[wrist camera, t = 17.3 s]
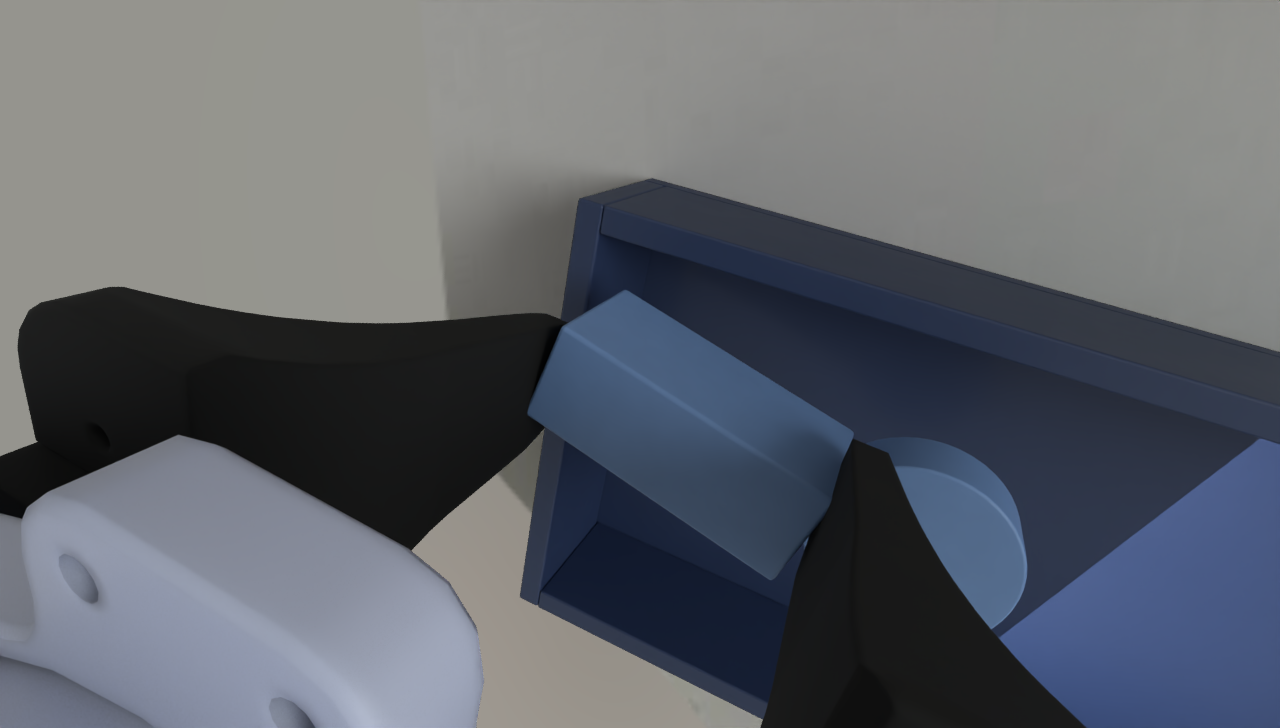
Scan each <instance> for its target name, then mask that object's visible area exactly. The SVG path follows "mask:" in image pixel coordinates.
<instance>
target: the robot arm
mask: <svg viewBox="0 0 1280 728" xmlns="http://www.w3.org/2000/svg"><path fill="white" fill-rule="evenodd" d="M567 323H568V322H565V321H563V320H560V319H558V318H556V317H553V316H551V315H548V314H542V313H525V314H511V315H499V316H489V317H479V318H468V319H458V320H444V321H429V322H413V323H382V324H381V323H379V324H378V323H377V324H375V323H341V322H340V323H339V322H327V321H316V320H304V319H292V318H281V317H273V316H266V315H259V314H252V313H245V312H239V311H233V310H227V309H221V308H216V307H210V306H205V305H200V304H195V303H191V302H186V301H182V300H177V299H173V298H168V297H163V296H159V295H155V294H150V293H146V292H142V291H138V290H134V289H129V288H125V287H108V288H103V289H99V290H95V291H90V292H86V293H81V294H77V295H72V296H68V297H64V298H59V299H55V300H50V301H46V302H41V303H39V304H38V305H37V306H35V307H33V308H32V309H30V310H29V311H28V313H27V315H26V317H25V319H24V321H23V323H22V325H21V327H20V329H19V338H18V355H19V363H20V369H21V374H22V379H23V383H24V388H25V392H26V397H27V401H28V406H29V411H30V415H31V420H32V424H33V429H34V434H35V438H36V440H37V441H38V442H36V443H34V444H31V445H29V446H26V447H23V448H21V449H18V450H15V451H13V452H10V453H8V454H5V455H2V456H0V728H476V721H477V716H478V711H479V705H480V700H481V694H482V689H483V684H484V677H483V669H482V662H481V655H480V646H479V638H478V632H477V629H476V625H475V624H474V622H473V620H472V619H471V617H470V615H469V614H468V612H467V611H466V609H465V607H464V606H463V604H462V602H461V601H460V599H459V597H458V596H457V594H456V593H455V591H454V589H453V588H452V586H451V584H450V583H449V582H448V581H447V580H446V579H445V578H444V577H442V576H441V575H440V574H439V573H438V572H436V571H435V570H434V569H433V568H431V567H430V566H429V565H428V564H427V563H425V562H424V561H423V560H422V559H420V558H419V557H418V556H416V555H415V554H414V553H413V552H412V551H411V550H412V549H413V548H414V547H415V546H416V545H417V544H418V543H419V542H420V541H421V540H422V539H423V538H424V536H426V535H427V533H428V532H429V531H430V530H431V529H433V527H435V526H436V525H437V524H438V523H439V522H440V521H441V520H442V519H443V518H444V517H446V516H447V515H448V514H449V513H450V512H451V511H453V510H454V509H455V508H456V507H457V506H459V505H460V504H461V503H462V502H463V501H465V500H466V499H467V498H468V497H469V496H471V495H472V494H473V493H474V492H475V491H477V490H478V489H479V488H480V487H481V486H483V485H484V484H485V483H486V482H487V481H489V480H490V479H491V478H492V477H493V476H495V475H496V474H497V473H498V472H499V471H501V470H502V469H503V468H504V467H505V466H506V465H508V464H509V463H510V462H511V461H512V460H513V459H515V458H516V457H517V456H518V455H519V454H520V453H522V452H523V451H524V450H525V449H526V448H527V447H528V446H529V445H530V444H531V443H532V441H533V440H534V439H535V438H536V437H537V436H538V435H539V434H540V432H541V431H542V430H543V429H544V428H545V427H544V426H543V425H542V424H540V423H539V422H537V421H536V420H534V419H533V418H531V417H530V416H528V408H529V404H530V400H531V398H532V396H533V393H534V391H535V388H536V386H537V384H538V381H539V379H540V377H541V374H542V372H543V370H544V367H545V365H546V363H547V360H548V358H549V356H550V353H551V351H552V349H553V346H554V344H555V342H556V339H557V337H558V335H559V332H560V330H561V328H562V327H563V326H564V325H565V324H567ZM761 728H1087V727H1086V726H1085V725H1083V724H1082V723H1081V722H1080V721H1079V720H1078V719H1077V718H1076V717H1075V716H1074V715H1073V714H1072V713H1071V712H1070V711H1069V710H1068V709H1067V708H1066V707H1064V706H1063V705H1062V704H1061V703H1060V702H1059V701H1058V700H1057V699H1056V698H1055V697H1054V696H1053V695H1052V694H1051V693H1050V692H1049V691H1048V690H1047V689H1046V688H1045V687H1044V686H1043V685H1042V684H1041V683H1040V682H1039V681H1038V680H1037V679H1036V678H1035V677H1034V676H1033V675H1032V674H1031V673H1030V672H1029V671H1028V670H1027V669H1026V668H1025V667H1024V666H1023V665H1022V664H1021V663H1020V662H1019V660H1018V659H1017V658H1016V657H1015V656H1014V655H1013V654H1012V653H1011V651H1010V650H1009V649H1008V648H1007V647H1006V646H1005V645H1004V643H1003V642H1002V641H1001V640H1000V639H999V638H998V637H997V636H996V634H995V633H994V632H993V631H992V630H991V629H990V627H989V626H988V625H987V624H986V623H985V621H984V620H983V619H982V618H981V616H980V615H979V614H978V613H977V611H976V610H975V609H974V607H973V606H972V605H971V603H970V602H969V601H968V599H967V598H966V597H965V595H964V594H963V592H962V591H961V590H960V588H959V587H958V586H957V584H956V583H955V581H954V580H953V579H952V577H951V576H950V574H949V573H948V571H947V570H946V568H945V566H944V565H943V563H942V562H941V560H940V558H939V557H938V555H937V553H936V552H935V550H934V548H933V546H932V545H931V543H930V541H929V540H928V538H927V536H926V534H925V532H924V531H923V529H922V527H921V525H920V523H919V521H918V519H917V517H916V515H915V513H914V511H913V509H912V507H911V505H910V503H909V500H908V498H907V496H906V493H905V491H904V489H903V486H902V484H901V482H900V479H899V477H898V474H897V472H896V469H895V467H894V465H893V462H892V460H891V458H890V455H889V453H887V452H885V451H883V450H880V449H878V448H875V447H873V446H870V445H868V444H865V443H863V442H860V441H858V440H855V439H852V441H851V443H850V445H849V448H848V450H847V452H846V454H845V456H844V459H843V461H842V463H841V466H840V470H839V473H838V477H837V480H836V484H835V487H834V491H833V495H832V500H831V503H830V505H829V508H828V510H827V512H826V514H825V516H824V517H823V519H822V521H821V522H820V523H819V525H818V526H817V527H816V528H815V529H814V531H813V532H812V533H811V534H810V536H809V538H808V541H807V544H806V547H805V550H804V552H803V555H802V558H801V561H800V564H799V567H798V570H797V573H796V575H795V580H794V585H793V589H792V594H791V599H790V603H789V608H788V613H787V618H786V623H785V628H784V632H783V637H782V642H781V647H780V652H779V657H778V662H777V666H776V671H775V676H774V681H773V686H772V689H771V693H770V697H769V701H768V705H767V709H766V712H765V715H764V718H763V721H762V725H761Z"/></svg>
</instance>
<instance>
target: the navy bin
mask: <svg viewBox="0 0 1280 728" xmlns="http://www.w3.org/2000/svg"><path fill="white" fill-rule="evenodd" d="M623 290H627V291H629V292H631V293H632V294H634V295H636V296H637V297H639V298H640V299H642V300H644V301H645V302H647V303H648V304H650V305H652V306H653V307H655V308H656V309H658V310H660V311H661V312H663V313H664V314H666V315H668V316H669V317H671V318H672V319H674V320H676V321H677V322H679V323H680V324H682V325H684V326H685V327H687V328H688V329H690V330H692V331H693V332H695V333H696V334H698V335H700V336H701V337H703V338H704V339H706V340H708V341H709V342H711V343H713V344H714V345H716V346H717V347H719V348H721V349H722V350H724V351H725V352H727V353H729V354H730V355H732V356H733V357H735V358H737V359H738V360H740V361H741V362H743V363H745V364H746V365H748V366H749V367H751V368H753V369H754V370H756V371H757V372H759V373H761V374H762V375H764V376H765V377H767V378H769V379H770V380H772V381H773V382H775V383H777V384H778V385H780V386H781V387H783V388H785V389H786V390H788V391H789V392H791V393H793V394H794V395H796V396H797V397H799V398H801V399H802V400H804V401H805V402H807V403H809V404H810V405H812V406H813V407H815V408H817V409H818V410H820V411H821V412H823V413H825V414H826V415H828V416H829V417H831V418H833V419H834V420H836V421H837V422H839V423H841V424H842V425H844V426H845V427H847V428H849V429H850V430H852V431H853V433H854V435H853V439H855V440H858V441H860V442H863V443H869V442H872V441H875V440H880V439H886V438H893V437H916V438H923V439H930V440H934V441H938V442H941V443H945V444H948V445H950V446H953V447H955V448H958V449H960V450H962V451H964V452H966V453H968V454H969V455H971V456H973V457H975V458H976V459H977V460H979V461H980V462H982V463H983V464H985V465H986V466H987V467H988V468H989V469H990V470H991V471H992V472H994V473H995V474H996V475H997V477H998V478H999V479H1000V480H1001V481H1002V482H1003V484H1004V485H1005V486H1006V488H1007V489H1008V491H1009V493H1010V494H1011V496H1012V498H1013V500H1014V502H1015V504H1016V507H1017V510H1018V514H1019V517H1020V522H1021V528H1022V534H1023V540H1024V545H1025V551H1026V558H1027V579H1026V583H1025V587H1024V591H1023V593H1022V595H1021V597H1020V599H1019V601H1018V603H1017V604H1016V606H1015V607H1014V609H1013V610H1012V611H1011V613H1010V614H1009V615H1008V616H1007V617H1006V618H1005V619H1004V620H1003V621H1002V622H1000V623H999V624H998V625H996V626H995V627H994V628H992V629H991V630H992V631H993V632H994V633H995V634H996V636H997V637H998V638H999V639H1000V640H1001V641H1002V642H1003V643H1004V645H1005V646H1006V647H1007V648H1008V649H1009V650H1010V651H1011V653H1012V654H1013V655H1014V656H1015V657H1016V658H1017V659H1018V660H1019V662H1020V663H1021V664H1022V665H1023V666H1024V667H1025V668H1026V669H1027V670H1028V671H1029V672H1030V673H1031V674H1032V675H1033V676H1034V677H1035V678H1036V679H1037V680H1038V681H1039V682H1040V683H1041V684H1042V685H1043V686H1044V687H1045V688H1046V689H1047V690H1048V691H1049V692H1050V693H1051V694H1052V695H1053V696H1054V697H1055V698H1056V699H1057V700H1058V701H1059V702H1060V703H1061V704H1062V705H1063V706H1064V707H1066V708H1067V709H1068V710H1069V711H1070V712H1071V713H1072V714H1073V715H1074V716H1075V717H1076V718H1077V719H1078V720H1079V721H1080V722H1081V723H1082V724H1083V725H1085V726H1086V727H1087V728H1280V352H1277V351H1274V350H1270V349H1266V348H1263V347H1259V346H1256V345H1252V344H1248V343H1245V342H1241V341H1237V340H1234V339H1230V338H1227V337H1223V336H1219V335H1216V334H1212V333H1209V332H1205V331H1201V330H1198V329H1194V328H1191V327H1187V326H1183V325H1180V324H1176V323H1173V322H1169V321H1165V320H1162V319H1158V318H1154V317H1151V316H1147V315H1144V314H1140V313H1136V312H1133V311H1129V310H1126V309H1122V308H1118V307H1115V306H1111V305H1108V304H1104V303H1100V302H1097V301H1093V300H1090V299H1086V298H1082V297H1079V296H1075V295H1071V294H1068V293H1064V292H1061V291H1057V290H1053V289H1050V288H1046V287H1043V286H1039V285H1035V284H1032V283H1028V282H1025V281H1021V280H1017V279H1014V278H1010V277H1007V276H1003V275H999V274H996V273H992V272H988V271H985V270H981V269H978V268H974V267H970V266H967V265H963V264H960V263H956V262H952V261H949V260H945V259H942V258H938V257H934V256H931V255H927V254H924V253H920V252H916V251H913V250H909V249H905V248H902V247H898V246H895V245H891V244H887V243H884V242H880V241H877V240H873V239H869V238H866V237H862V236H859V235H855V234H851V233H848V232H844V231H841V230H837V229H833V228H830V227H826V226H822V225H819V224H815V223H812V222H808V221H804V220H801V219H797V218H794V217H790V216H786V215H783V214H779V213H776V212H772V211H768V210H765V209H761V208H758V207H754V206H750V205H747V204H743V203H739V202H736V201H732V200H729V199H725V198H721V197H718V196H714V195H711V194H707V193H703V192H700V191H696V190H693V189H689V188H685V187H682V186H678V185H675V184H671V183H667V182H664V181H660V180H656V179H653V178H652V179H648V180H645V181H641V182H638V183H634V184H630V185H627V186H623V187H619V188H616V189H612V190H609V191H605V192H601V193H598V194H594V195H590V196H587V197H583V198H580V199H579V201H578V206H577V213H576V220H575V227H574V234H573V240H572V247H571V254H570V261H569V267H568V274H567V281H566V288H565V294H564V301H563V308H562V315H561V320H563V321H565V322H568V323H569V322H570V321H572V320H574V319H576V318H577V317H579V316H581V315H582V314H584V313H586V312H587V311H589V310H591V309H592V308H594V307H596V306H597V305H599V304H601V303H603V302H604V301H606V300H608V299H609V298H611V297H613V296H614V295H616V294H618V293H619V292H621V291H623ZM803 552H804V543H803V544H802V546H801V547H800V548H799V549H798V551H797V552H796V553H795V554H794V555H793V557H792V558H791V559H790V560H789V562H788V563H787V564H786V565H785V567H784V568H783V569H782V570H781V572H780V573H779V574H778V575H777V577H776V578H774V579H773V580H769V579H767V578H766V577H764V576H763V575H761V574H760V573H758V572H757V571H755V570H754V569H752V568H751V567H750V566H748V565H747V564H745V563H744V562H742V561H741V560H739V559H738V558H736V557H735V556H733V555H732V554H731V553H729V552H728V551H726V550H725V549H723V548H722V547H720V546H719V545H717V544H716V543H714V542H713V541H711V540H710V539H709V538H707V537H706V536H704V535H703V534H701V533H700V532H698V531H697V530H695V529H694V528H692V527H691V526H690V525H688V524H687V523H685V522H684V521H682V520H681V519H679V518H678V517H676V516H675V515H673V514H672V513H670V512H669V511H668V510H666V509H665V508H663V507H662V506H660V505H659V504H657V503H656V502H654V501H653V500H651V499H650V498H648V497H647V496H646V495H644V494H643V493H641V492H640V491H638V490H637V489H635V488H634V487H632V486H631V485H629V484H628V483H627V482H625V481H624V480H622V479H621V478H619V477H618V476H616V475H615V474H613V473H612V472H610V471H609V470H607V469H606V468H605V467H603V466H602V465H600V464H599V463H597V462H596V461H594V460H593V459H591V458H590V457H588V456H587V455H586V454H584V453H583V452H581V451H580V450H578V449H577V448H575V447H574V446H572V445H571V444H569V443H568V442H566V441H565V440H564V439H562V438H561V437H559V436H558V435H556V434H555V433H553V432H552V431H550V430H549V429H547V428H546V427H545V430H544V436H543V443H542V450H541V457H540V463H539V470H538V477H537V484H536V490H535V497H534V504H533V511H532V517H531V525H530V531H529V538H528V545H527V551H526V559H525V565H524V572H523V579H522V585H521V593H520V597H521V598H522V599H524V600H526V601H528V602H530V603H532V604H534V605H538V606H539V607H540V608H542V609H544V610H546V611H548V612H550V613H552V614H554V615H556V616H558V617H560V618H562V619H564V620H566V621H568V622H570V623H572V624H574V625H576V626H578V627H580V628H582V629H584V630H586V631H588V632H590V633H591V634H593V635H595V636H598V637H599V638H601V639H603V640H606V641H608V642H610V643H612V644H613V645H616V646H617V647H619V648H622V649H624V650H625V651H627V652H629V653H631V654H633V655H635V656H637V657H639V658H641V659H643V660H646V661H647V662H649V663H651V664H653V665H655V666H657V667H659V668H661V669H663V670H665V671H667V672H669V673H671V674H673V675H675V676H677V677H679V678H681V679H683V680H685V681H687V682H689V683H691V684H693V685H695V686H697V687H699V688H701V689H703V690H705V691H707V692H709V693H711V694H713V695H715V696H717V697H719V698H721V699H723V700H725V701H727V702H729V703H731V704H733V705H735V706H737V707H739V708H741V709H743V710H745V711H747V712H749V713H751V714H753V715H755V716H757V717H759V718H761V719H763V718H764V715H765V712H766V709H767V705H768V701H769V697H770V693H771V689H772V686H773V681H774V676H775V671H776V666H777V662H778V657H779V652H780V647H781V642H782V637H783V632H784V628H785V623H786V618H787V613H788V608H789V603H790V599H791V594H792V589H793V585H794V580H795V575H796V573H797V570H798V567H799V564H800V561H801V558H802V555H803Z"/></svg>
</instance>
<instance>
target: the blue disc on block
mask: <svg viewBox="0 0 1280 728" xmlns="http://www.w3.org/2000/svg"><path fill="white" fill-rule="evenodd" d="M528 416H530V417H531V418H533V419H534V420H536V421H537V422H539V423H540V424H542V425H543V426H544V427H546V428H547V429H549V430H550V431H552V432H553V433H555V434H556V435H558V436H559V437H561V438H562V439H564V440H565V441H566V442H568V443H569V444H571V445H572V446H574V447H575V448H577V449H578V450H580V451H581V452H583V453H584V454H586V455H587V456H588V457H590V458H591V459H593V460H594V461H596V462H597V463H599V464H600V465H602V466H603V467H605V468H606V469H607V470H609V471H610V472H612V473H613V474H615V475H616V476H618V477H619V478H621V479H622V480H624V481H625V482H627V483H628V484H629V485H631V486H632V487H634V488H635V489H637V490H638V491H640V492H641V493H643V494H644V495H646V496H647V497H648V498H650V499H651V500H653V501H654V502H656V503H657V504H659V505H660V506H662V507H663V508H665V509H666V510H668V511H669V512H670V513H672V514H673V515H675V516H676V517H678V518H679V519H681V520H682V521H684V522H685V523H687V524H688V525H690V526H691V527H692V528H694V529H695V530H697V531H698V532H700V533H701V534H703V535H704V536H706V537H707V538H709V539H710V540H711V541H713V542H714V543H716V544H717V545H719V546H720V547H722V548H723V549H725V550H726V551H728V552H729V553H731V554H732V555H733V556H735V557H736V558H738V559H739V560H741V561H742V562H744V563H745V564H747V565H748V566H750V567H751V568H752V569H754V570H755V571H757V572H758V573H760V574H761V575H763V576H764V577H766V578H767V579H769V580H773V579H774V578H776V577H777V575H778V574H779V573H780V572H781V570H782V569H783V568H784V567H785V565H786V564H787V563H788V562H789V560H790V559H791V558H792V557H793V555H794V554H795V553H796V552H797V551H798V549H799V548H800V547H801V546H802V544H803V543H804V550H805V547H806V544H807V541H808V538H809V536H810V534H811V533H812V532H813V531H814V529H815V528H816V527H817V526H818V525H819V523H820V522H821V521H822V519H823V517H824V516H825V514H826V512H827V510H828V508H829V505H830V503H831V500H832V495H833V491H834V487H835V484H836V480H837V477H838V473H839V470H840V466H841V463H842V461H843V459H844V456H845V454H846V452H847V450H848V448H849V445H850V443H851V441H852V439H853V435H854V433H853V431H852V430H850V429H849V428H847V427H845V426H844V425H842V424H841V423H839V422H837V421H836V420H834V419H833V418H831V417H829V416H828V415H826V414H825V413H823V412H821V411H820V410H818V409H817V408H815V407H813V406H812V405H810V404H809V403H807V402H805V401H804V400H802V399H801V398H799V397H797V396H796V395H794V394H793V393H791V392H789V391H788V390H786V389H785V388H783V387H781V386H780V385H778V384H777V383H775V382H773V381H772V380H770V379H769V378H767V377H765V376H764V375H762V374H761V373H759V372H757V371H756V370H754V369H753V368H751V367H749V366H748V365H746V364H745V363H743V362H741V361H740V360H738V359H737V358H735V357H733V356H732V355H730V354H729V353H727V352H725V351H724V350H722V349H721V348H719V347H717V346H716V345H714V344H713V343H711V342H709V341H708V340H706V339H704V338H703V337H701V336H700V335H698V334H696V333H695V332H693V331H692V330H690V329H688V328H687V327H685V326H684V325H682V324H680V323H679V322H677V321H676V320H674V319H672V318H671V317H669V316H668V315H666V314H664V313H663V312H661V311H660V310H658V309H656V308H655V307H653V306H652V305H650V304H648V303H647V302H645V301H644V300H642V299H640V298H639V297H637V296H636V295H634V294H632V293H631V292H629V291H627V290H623V291H621V292H619V293H618V294H616V295H614V296H613V297H611V298H609V299H608V300H606V301H604V302H603V303H601V304H599V305H597V306H596V307H594V308H592V309H591V310H589V311H587V312H586V313H584V314H582V315H581V316H579V317H577V318H576V319H574V320H572V321H570V322H569V323H567V324H565V325H564V326H563V327H562V328H561V330H560V332H559V335H558V337H557V339H556V342H555V344H554V346H553V349H552V351H551V353H550V356H549V358H548V360H547V363H546V365H545V367H544V370H543V372H542V374H541V377H540V379H539V381H538V384H537V386H536V388H535V391H534V393H533V396H532V398H531V400H530V404H529V408H528ZM865 444H868V445H870V446H873V447H875V448H878V449H880V450H883V451H885V452H887V453H889V455H890V458H891V460H892V462H893V465H894V467H895V469H896V472H897V474H898V477H899V479H900V482H901V484H902V486H903V489H904V491H905V493H906V496H907V498H908V500H909V503H910V505H911V507H912V509H913V511H914V513H915V515H916V517H917V519H918V521H919V523H920V525H921V527H922V529H923V531H924V532H925V534H926V536H927V538H928V540H929V541H930V543H931V545H932V546H933V548H934V550H935V552H936V553H937V555H938V557H939V558H940V560H941V562H942V563H943V565H944V566H945V568H946V570H947V571H948V573H949V574H950V576H951V577H952V579H953V580H954V581H955V583H956V584H957V586H958V587H959V588H960V590H961V591H962V592H963V594H964V595H965V597H966V598H967V599H968V601H969V602H970V603H971V605H972V606H973V607H974V609H975V610H976V611H977V613H978V614H979V615H980V616H981V618H982V619H983V620H984V621H985V623H986V624H987V625H988V626H989V627H990V629H992V628H994V627H995V626H996V625H998V624H999V623H1000V622H1002V621H1003V620H1004V619H1005V618H1006V617H1007V616H1008V615H1009V614H1010V613H1011V611H1012V610H1013V609H1014V607H1015V606H1016V604H1017V603H1018V601H1019V599H1020V597H1021V595H1022V593H1023V591H1024V587H1025V583H1026V579H1027V558H1026V551H1025V545H1024V540H1023V534H1022V528H1021V522H1020V517H1019V514H1018V510H1017V507H1016V504H1015V502H1014V500H1013V498H1012V496H1011V494H1010V493H1009V491H1008V489H1007V488H1006V486H1005V485H1004V484H1003V482H1002V481H1001V480H1000V479H999V478H998V477H997V475H996V474H995V473H994V472H992V471H991V470H990V469H989V468H988V467H987V466H986V465H985V464H983V463H982V462H980V461H979V460H977V459H976V458H975V457H973V456H971V455H969V454H968V453H966V452H964V451H962V450H960V449H958V448H955V447H953V446H950V445H948V444H945V443H941V442H938V441H934V440H930V439H923V438H916V437H893V438H886V439H880V440H875V441H872V442H869V443H865Z"/></svg>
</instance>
